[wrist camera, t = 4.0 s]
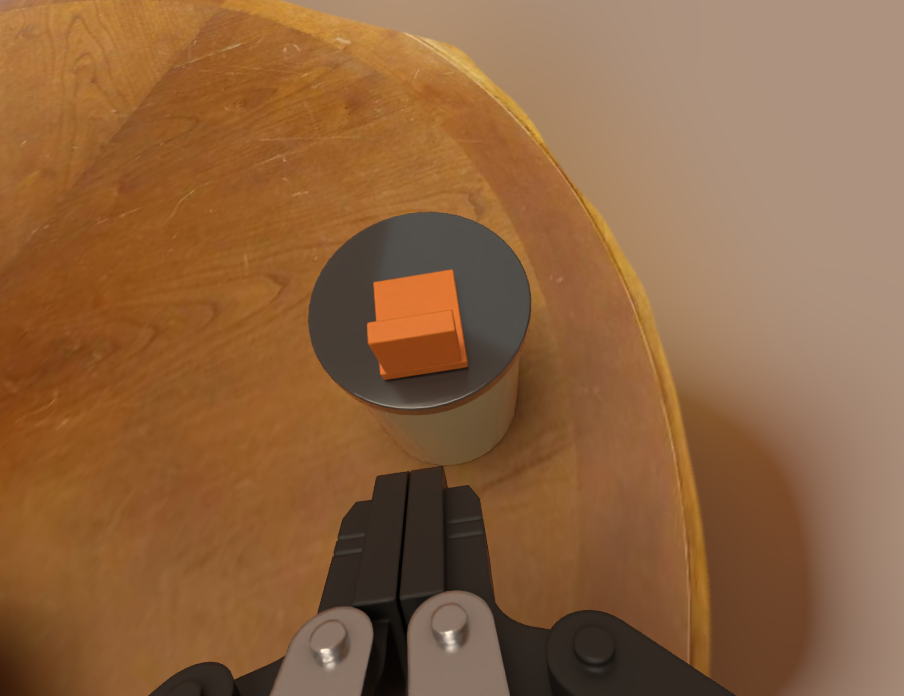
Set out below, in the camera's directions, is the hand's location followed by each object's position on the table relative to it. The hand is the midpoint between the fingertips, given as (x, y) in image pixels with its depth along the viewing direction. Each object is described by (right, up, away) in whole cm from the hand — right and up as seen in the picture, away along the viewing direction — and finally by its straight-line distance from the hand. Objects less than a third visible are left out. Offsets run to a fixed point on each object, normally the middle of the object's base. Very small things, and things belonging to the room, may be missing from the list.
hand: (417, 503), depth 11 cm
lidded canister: (0, +1, +19) cm, 19 cm away
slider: (0, +4, +8) cm, 9 cm away
